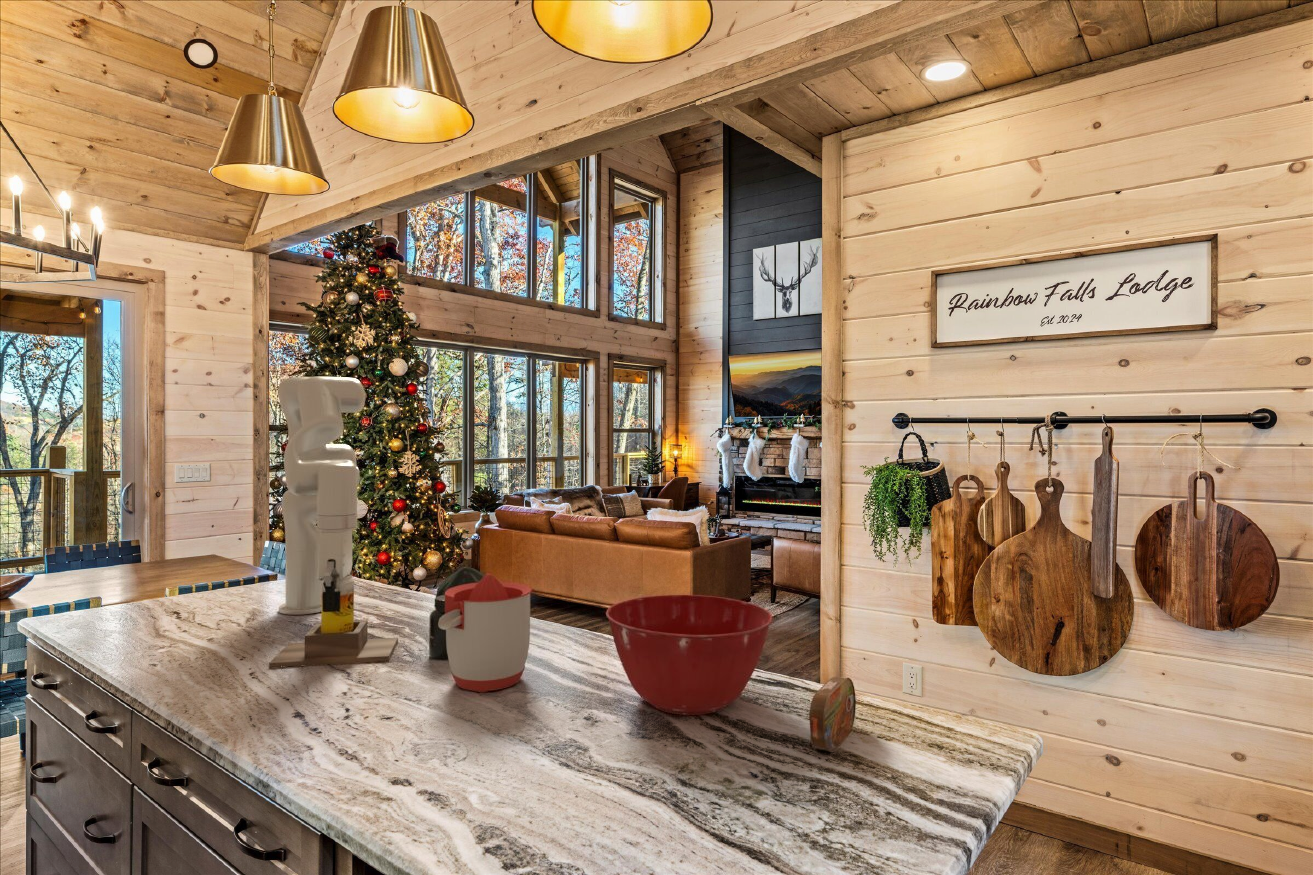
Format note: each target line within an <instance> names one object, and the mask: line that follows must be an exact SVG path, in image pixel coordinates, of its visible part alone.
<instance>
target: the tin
mask: <svg viewBox="0 0 1313 875" xmlns="http://www.w3.org/2000/svg"><path fill="white" fill-rule="evenodd" d="M856 699H857V698H856V688H855V686H854V682H853V680H852V679H851V678H850V677H838V676H833V677H831V678H830V679H828V681H826V683H824V684H823V685H822V687H820V688H819V689H818V690H817V691H816V692H815V693H814V694H813V696H812V699H811V702H810V705H809V710H808V711H809V712H808V714H809V715H808V719H809V731H810V741H811V744H812V746H813V748H815V749H817V750H821V751H826V752H827V751H828V752H830V753H834V752H836V751H837V749H838V748H839V747H840V745H842V743H843V742H844V740H846V738H847V737H848V735H850V733H851V731H852V730H853V726H854V723H855V718H856V710H857V709H856V703H857V702H856V701H857V700H856Z"/></svg>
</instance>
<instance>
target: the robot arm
mask: <svg viewBox="0 0 1313 875" xmlns="http://www.w3.org/2000/svg"><path fill="white" fill-rule="evenodd" d="M278 400H279V404H280V408H281V411H282V413H283V415H284V418H285V420H286V424H287V429H288V435H287V436H288V443H287V444H286V445H285V446H286V447H285V450H284V454H283V466H284V467H283V468H284V476H285V482H286V488H287V489H288V490H286V491H285V492H284V493H283V495H282V498H281V509H282V510H281V511H282V515H283V516H282V518H283V523H284V533H285V534H284V535H285V603H283V604H281V605H279V606H278V612H279V613H280V614H283V615H290V616H291V615H292V616H293V615H294V616H296V615H297V616H298V615H308V614H315V613H321V608H322V582H323V580H324V582H323V612H338V611H340V591H339V585H340V580H342V579H344V578H345V577H346V576H347V575H348V574H349V575H351V572H352V568H353V531H356V530H357V529H358V486H359V484H360V478H361V477H360V476H361V475H360V469H359V467H358V465H357V456H356V453H355V450H354V449H353V447H352V446H350V445H348V444H345V443H333V442H334V441H336V440H337V439H339V438H340V437H341V436H342V434H343V432H344V429H345V428H344V426H345V425H344V422H343V416H342V413H350V414H351V413H356V414H357V413H360V412H361V411H362V410H363V409H364V406H365V405H366V403H365V402H366V392H365V388H364V386H363V383H362V382H361V381H360V380H359V379H357V378H355V377H346V376H345V377H343V376H341V377H339V376H321V375H320V376H294V377H293V376H291V377H288V378H284V379H283V380H281V381H280V383H279V385H278ZM334 581H336V584H335V582H334Z"/></svg>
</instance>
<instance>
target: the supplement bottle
mask: <svg viewBox="0 0 1313 875" xmlns="http://www.w3.org/2000/svg"><path fill="white" fill-rule="evenodd" d="M433 605H434V606H433V607H434V609H433V610H432V612H430V614H429V617H428V618H429V620H428V621H429V622H428V623H429V625H428V628H429V630H428V635H429V636H428V655H429V657H430V658H431V659H434V660H436V661H438V660H439V661H449V659H448V654H447V645H446V630H443V629H441V628H439V626H438V622H439V619H440V618H441V617H442V616H443V615H445V595H442V596H438V597H436V596H435V597H434V604H433ZM435 608H436V609H435Z"/></svg>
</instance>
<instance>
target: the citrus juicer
mask: <svg viewBox="0 0 1313 875" xmlns="http://www.w3.org/2000/svg"><path fill="white" fill-rule="evenodd" d="M484 575H485V576H484V577H483V578H482V579H481V580H480V581H479V582H478V583H470V584H464V585H459V586H456V587H453V588H450V589H448V590H447V591H446V592H445V615H443V616H442V617H441V618H440V619H439V622H438V626H439V628H441V629H443V630H446V645H447V654H448V659H449V660H448V663H449V666H450V670H451V671H450V672H451V675H452V677H453V680H454V682H455V684H456V686H457V687H459V688H461V689H463V690H467V691H473V692H474V691H475V692H478V693H488V692H489V691H497V690H501V689H505V688H509V687H512V686H514V685H516V684H517V683H518V682H519V681H521V679H522V675H523V674H524V671H525V669H526V668H525V667H526V663H527V660H528V655H529V649H530V639H531V593H532V591H533V590H532V588H531V586H529V585H527V584H525V583H519V582H514V581H513V582H511V581H499V580H498V579H497V577H495V576H494V575H493V574H491V573H487V574H484Z"/></svg>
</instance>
